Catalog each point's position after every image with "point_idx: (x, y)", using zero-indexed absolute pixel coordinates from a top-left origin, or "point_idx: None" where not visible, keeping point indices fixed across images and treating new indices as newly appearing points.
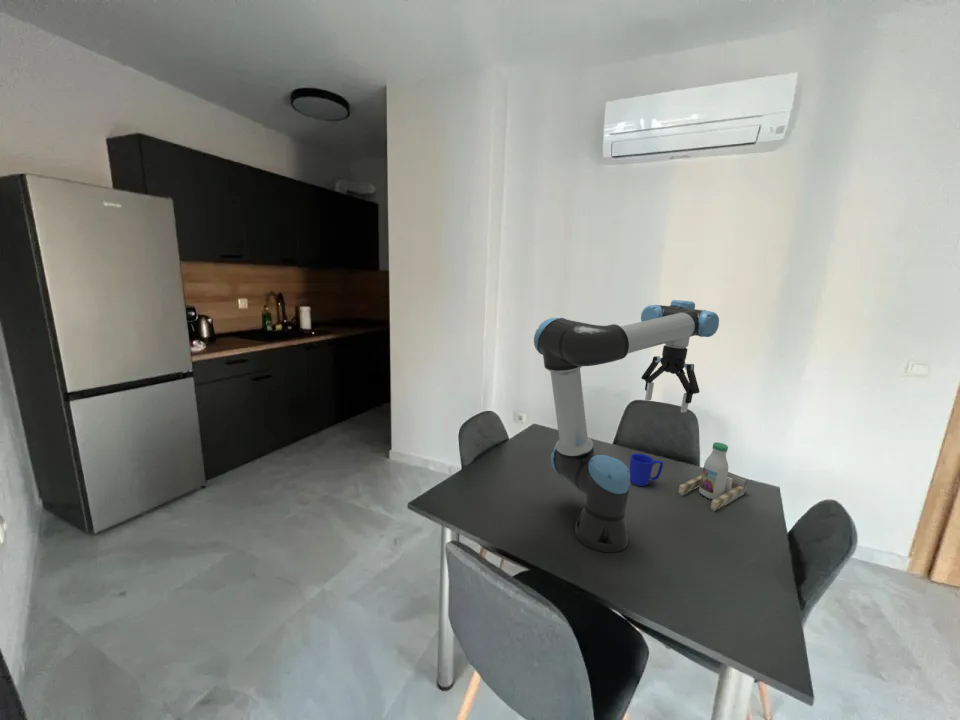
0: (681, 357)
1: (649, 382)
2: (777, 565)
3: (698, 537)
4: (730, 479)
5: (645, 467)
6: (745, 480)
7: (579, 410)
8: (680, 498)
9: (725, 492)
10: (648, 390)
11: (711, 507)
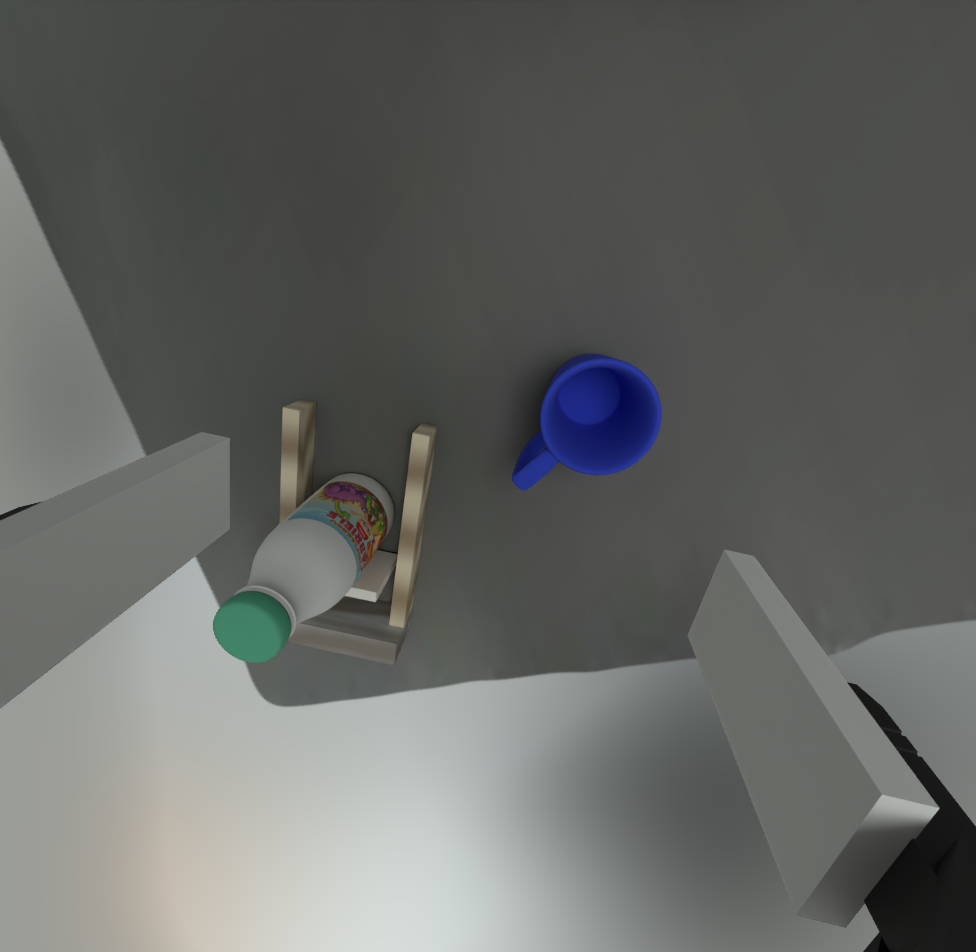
0: None
1: (904, 859)
2: (52, 214)
3: (257, 155)
4: None
5: (560, 372)
6: None
7: None
8: (418, 399)
9: None
10: (792, 658)
11: (309, 404)
